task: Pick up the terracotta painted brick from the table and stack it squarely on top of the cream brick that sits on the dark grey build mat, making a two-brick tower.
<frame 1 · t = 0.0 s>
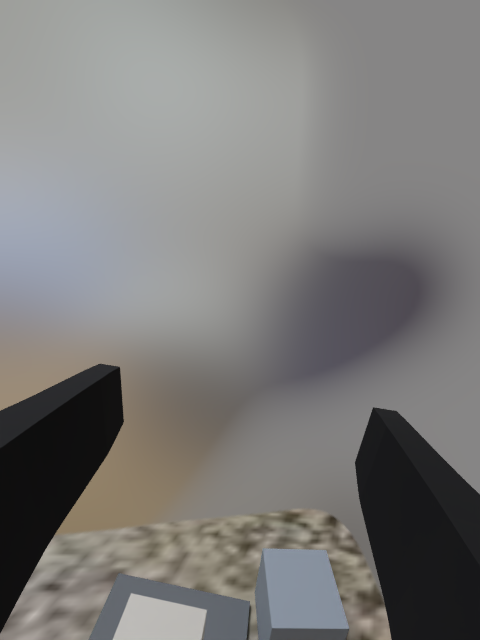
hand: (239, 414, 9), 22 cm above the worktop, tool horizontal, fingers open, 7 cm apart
slate brick: (290, 630, 23), on the worktop
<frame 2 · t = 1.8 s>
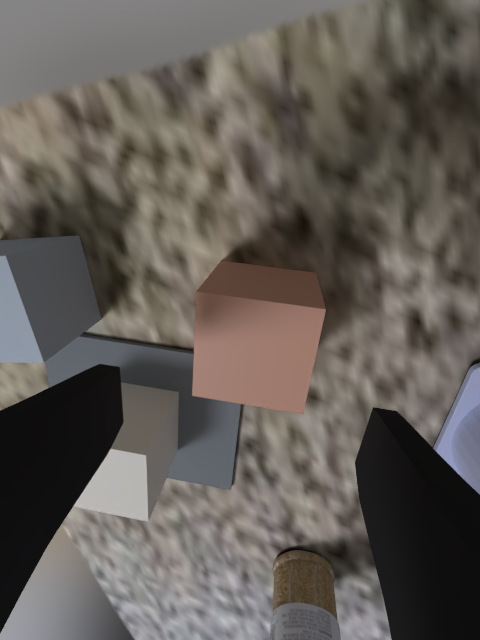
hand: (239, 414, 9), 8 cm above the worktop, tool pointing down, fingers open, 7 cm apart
terracotta brick: (262, 309, 17), on the worktop
build mat: (144, 413, 21), on the worktop
slate brick: (53, 280, 18), on the worktop
cream brick: (142, 416, 20), resting on build mat
sprinkles bottle: (302, 563, 25), on the worktop
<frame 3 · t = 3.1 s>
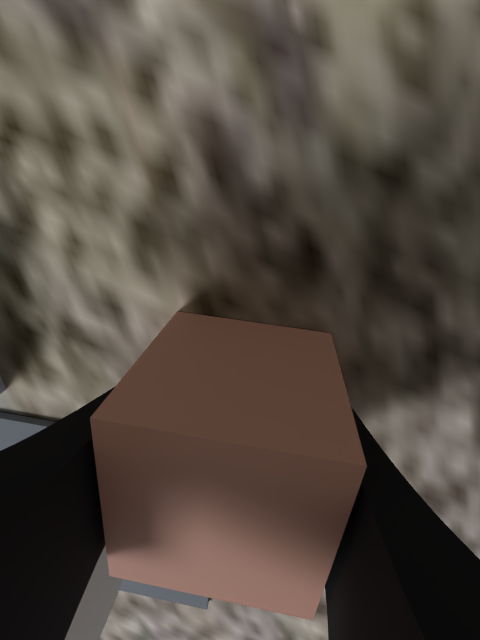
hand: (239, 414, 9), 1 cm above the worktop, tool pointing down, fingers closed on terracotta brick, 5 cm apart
terracotta brick: (244, 385, 11), on the worktop, touching gripper
build mat: (82, 511, 14), on the worktop
cream brick: (78, 517, 14), resting on build mat
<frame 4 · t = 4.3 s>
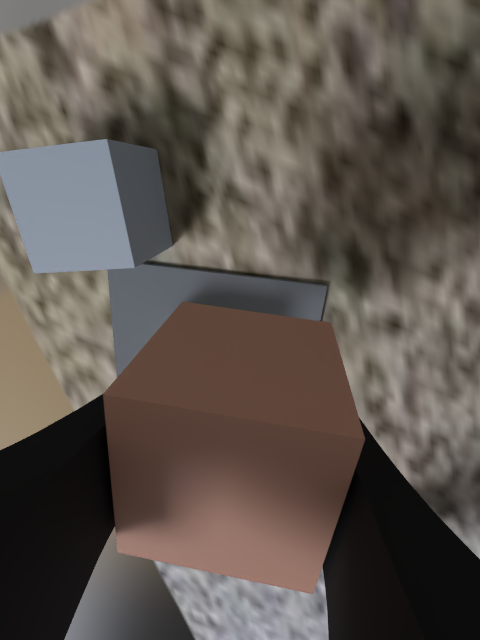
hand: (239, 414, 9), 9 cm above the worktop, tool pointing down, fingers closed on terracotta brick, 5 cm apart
terracotta brick: (247, 374, 11), point 8 cm above the worktop, touching gripper
build mat: (210, 351, 20), on the worktop
slate brick: (123, 203, 17), on the worktop
when the fingers open (8 cm above the worktop, at t = 5.5 s): terracotta brick stays where it is, resting on cream brick.
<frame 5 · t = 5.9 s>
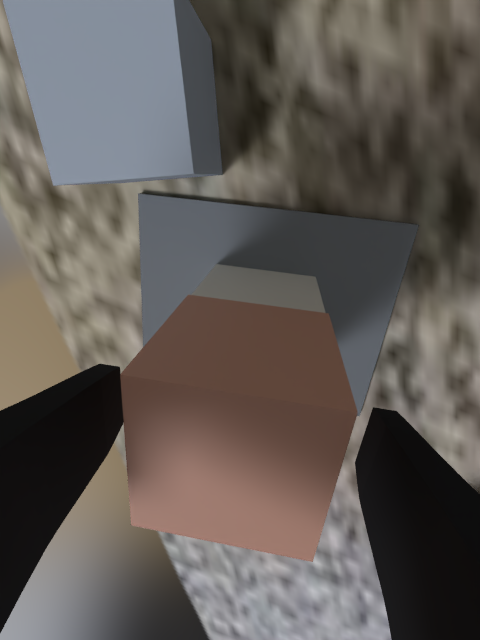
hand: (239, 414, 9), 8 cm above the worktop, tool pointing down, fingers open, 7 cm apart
terracotta brick: (249, 364, 12), point 5 cm above the worktop, touching cream brick
build mat: (260, 313, 16), on the worktop
slate brick: (163, 118, 13), on the worktop
cream brick: (259, 315, 16), resting on build mat, touching terracotta brick
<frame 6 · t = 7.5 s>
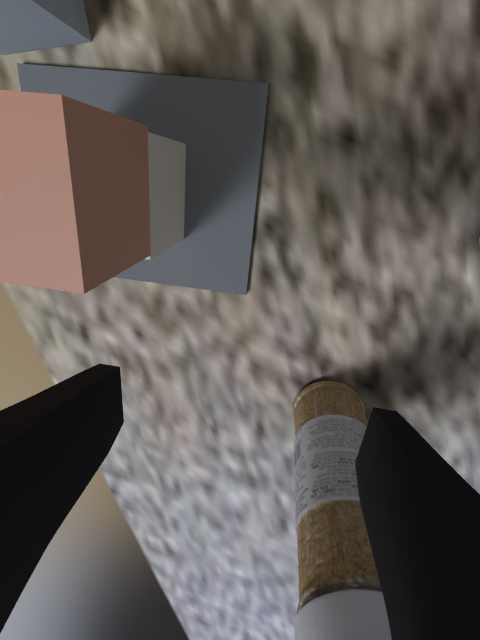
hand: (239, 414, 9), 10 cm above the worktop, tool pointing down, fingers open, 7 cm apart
terracotta brick: (91, 189, 13), point 5 cm above the worktop, touching cream brick
build mat: (144, 189, 17), on the worktop
cream brick: (142, 189, 17), resting on build mat, touching terracotta brick
sprinkles bottle: (326, 404, 21), on the worktop
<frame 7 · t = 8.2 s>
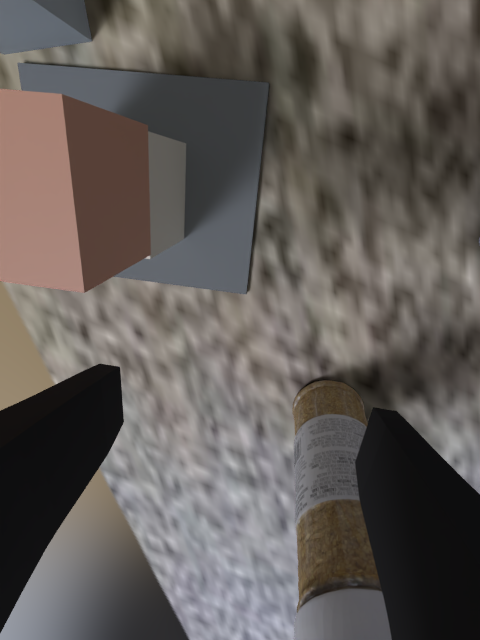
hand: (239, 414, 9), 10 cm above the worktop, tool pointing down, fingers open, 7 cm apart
terracotta brick: (92, 188, 13), point 5 cm above the worktop, touching cream brick
build mat: (144, 188, 17), on the worktop
cream brick: (142, 189, 17), resting on build mat, touching terracotta brick
sprinkles bottle: (326, 404, 21), on the worktop
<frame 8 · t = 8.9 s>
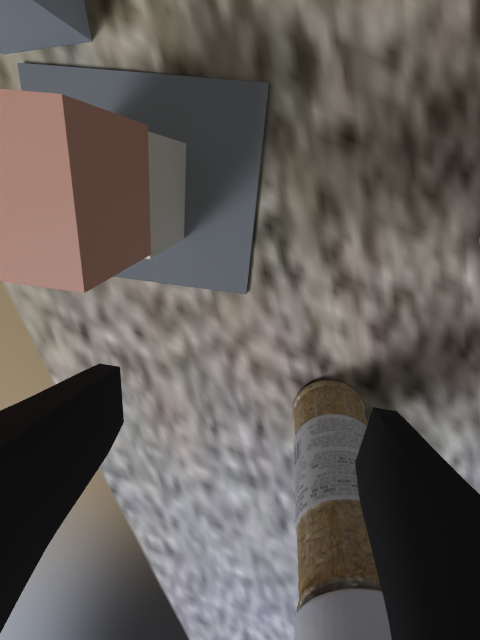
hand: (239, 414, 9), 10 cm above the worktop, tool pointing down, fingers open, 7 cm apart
terracotta brick: (92, 188, 13), point 5 cm above the worktop, touching cream brick
build mat: (144, 188, 17), on the worktop
cream brick: (142, 189, 17), resting on build mat, touching terracotta brick
sprinkles bottle: (326, 404, 21), on the worktop
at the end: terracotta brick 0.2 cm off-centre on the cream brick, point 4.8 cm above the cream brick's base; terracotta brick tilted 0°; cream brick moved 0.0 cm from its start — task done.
